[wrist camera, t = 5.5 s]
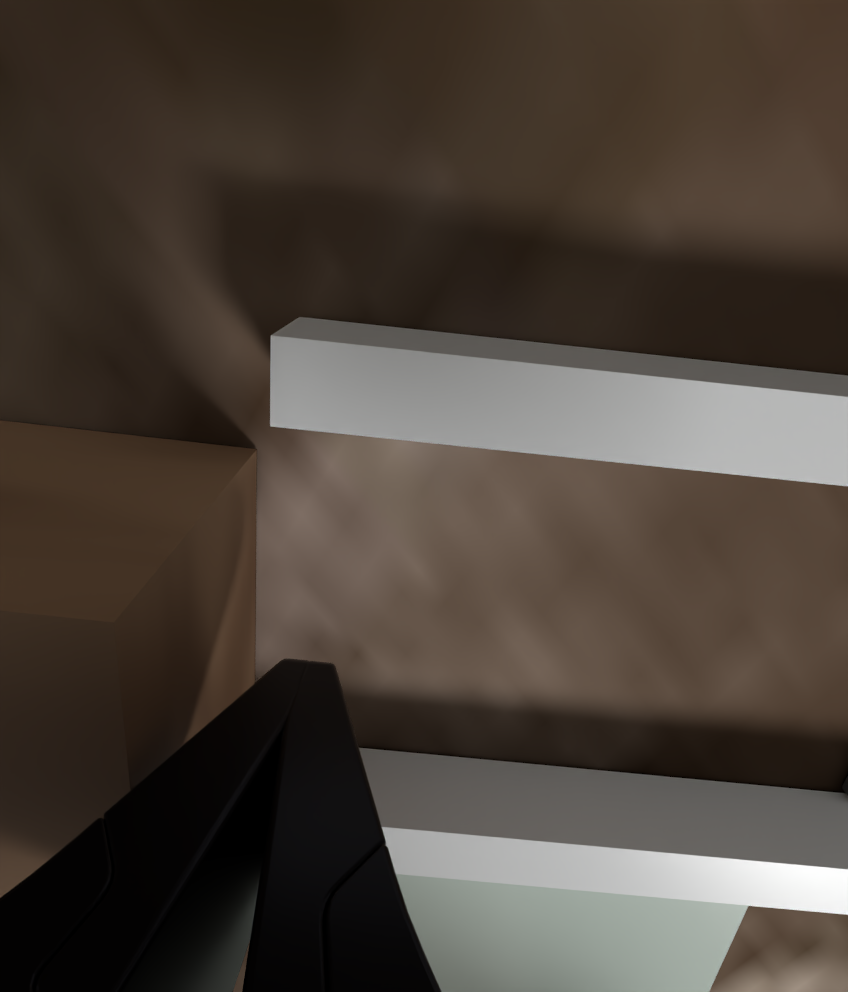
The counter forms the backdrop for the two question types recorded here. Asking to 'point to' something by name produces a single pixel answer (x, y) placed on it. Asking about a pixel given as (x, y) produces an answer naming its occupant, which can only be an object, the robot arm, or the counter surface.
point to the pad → (565, 938)
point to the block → (113, 618)
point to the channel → (605, 437)
